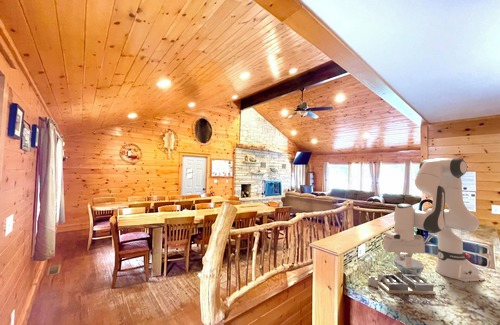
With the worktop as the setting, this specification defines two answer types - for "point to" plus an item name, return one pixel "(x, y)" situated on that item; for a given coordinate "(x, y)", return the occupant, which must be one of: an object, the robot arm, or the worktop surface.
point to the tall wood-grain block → (405, 260)
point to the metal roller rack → (405, 284)
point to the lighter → (375, 280)
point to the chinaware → (414, 270)
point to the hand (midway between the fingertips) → (403, 260)
